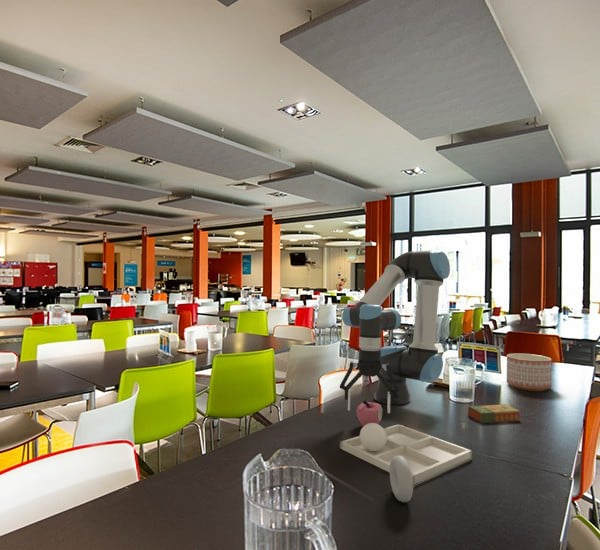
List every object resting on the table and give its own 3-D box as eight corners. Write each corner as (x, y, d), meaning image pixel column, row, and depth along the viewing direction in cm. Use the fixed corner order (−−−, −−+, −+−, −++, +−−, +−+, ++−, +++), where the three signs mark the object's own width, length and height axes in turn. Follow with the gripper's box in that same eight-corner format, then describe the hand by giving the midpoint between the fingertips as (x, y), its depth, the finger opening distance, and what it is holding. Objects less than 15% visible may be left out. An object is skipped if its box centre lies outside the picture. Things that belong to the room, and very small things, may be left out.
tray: (339, 450, 127) (340, 441, 127) (398, 431, 143) (398, 424, 143) (412, 486, 105) (412, 476, 105) (471, 459, 121) (471, 450, 121)
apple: (375, 435, 139) (376, 405, 139) (351, 430, 143) (352, 401, 143) (386, 427, 147) (386, 398, 147) (363, 422, 151) (363, 394, 151)
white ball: (354, 449, 126) (354, 422, 126) (372, 443, 131) (372, 417, 131) (373, 458, 120) (373, 430, 120) (392, 451, 125) (392, 424, 125)
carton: (519, 421, 155) (519, 410, 155) (480, 424, 152) (480, 412, 152) (505, 414, 163) (505, 403, 163) (467, 416, 161) (467, 405, 161)
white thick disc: (387, 489, 103) (387, 448, 104) (401, 488, 104) (401, 448, 104) (400, 511, 94) (400, 466, 94) (415, 511, 94) (415, 466, 94)
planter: (551, 385, 208) (552, 356, 208) (550, 394, 191) (550, 362, 191) (508, 380, 218) (509, 352, 218) (504, 388, 202) (504, 357, 202)
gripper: (333, 349, 143) (331, 411, 143) (407, 352, 140) (406, 416, 139) (334, 346, 151) (333, 405, 150) (405, 349, 147) (404, 409, 147)
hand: (368, 410), depth 145 cm, fingers open, 13 cm apart
